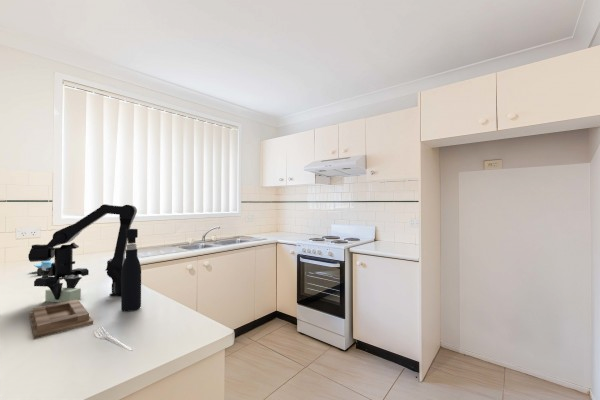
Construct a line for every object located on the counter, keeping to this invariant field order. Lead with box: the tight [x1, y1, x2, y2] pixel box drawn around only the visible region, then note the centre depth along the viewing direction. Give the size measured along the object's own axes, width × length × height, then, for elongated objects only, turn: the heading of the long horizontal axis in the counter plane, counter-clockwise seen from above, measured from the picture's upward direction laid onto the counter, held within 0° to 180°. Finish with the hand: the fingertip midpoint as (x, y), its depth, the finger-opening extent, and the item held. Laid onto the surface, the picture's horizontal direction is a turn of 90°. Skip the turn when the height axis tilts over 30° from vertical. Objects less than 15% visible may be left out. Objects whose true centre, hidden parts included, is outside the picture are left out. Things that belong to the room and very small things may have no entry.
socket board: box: [28, 299, 94, 339], centre depth 94 cm, size 25×14×3 cm, turn 47°
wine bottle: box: [120, 228, 142, 313], centre depth 105 cm, size 6×6×30 cm
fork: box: [93, 326, 134, 352], centre depth 79 cm, size 3×20×2 cm, turn 58°
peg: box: [44, 286, 82, 303], centre depth 114 cm, size 12×4×4 cm, turn 80°
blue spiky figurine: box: [33, 259, 54, 269], centre depth 163 cm, size 18×10×9 cm, turn 43°
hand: (63, 297), depth 114 cm, fingers closed on peg, 5 cm apart
